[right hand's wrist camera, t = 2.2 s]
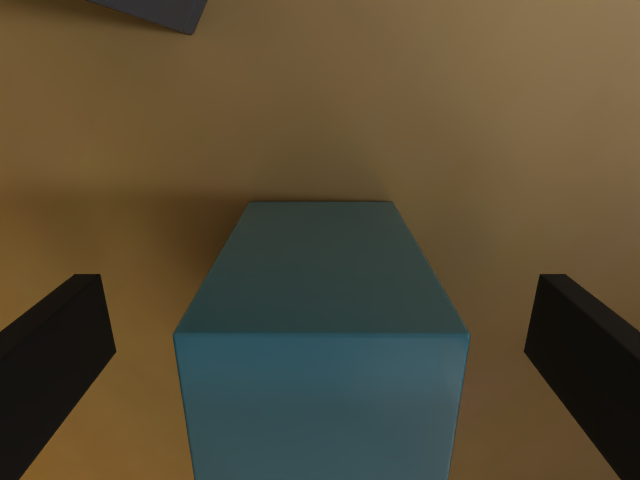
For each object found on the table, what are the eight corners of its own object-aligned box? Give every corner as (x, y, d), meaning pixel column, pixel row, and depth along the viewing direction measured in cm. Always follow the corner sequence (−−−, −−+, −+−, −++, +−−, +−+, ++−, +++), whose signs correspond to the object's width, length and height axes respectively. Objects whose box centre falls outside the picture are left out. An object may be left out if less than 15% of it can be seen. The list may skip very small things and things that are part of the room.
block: (248, 200, 14) (170, 334, 7) (393, 200, 14) (472, 334, 7) (256, 324, 16) (201, 537, 9) (384, 325, 16) (440, 537, 9)
